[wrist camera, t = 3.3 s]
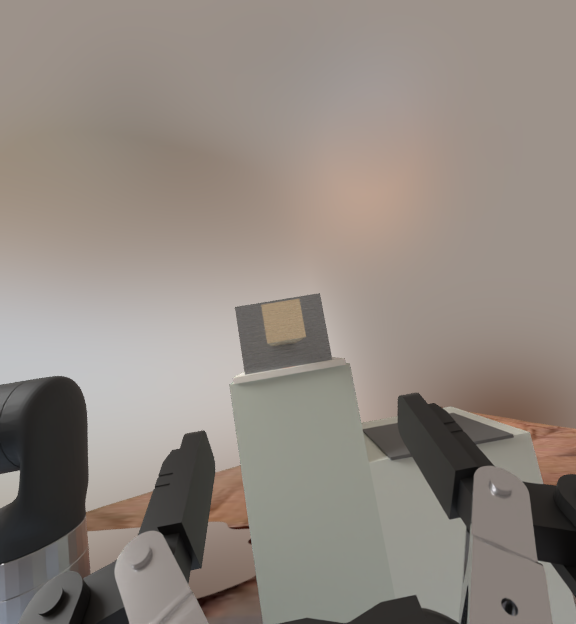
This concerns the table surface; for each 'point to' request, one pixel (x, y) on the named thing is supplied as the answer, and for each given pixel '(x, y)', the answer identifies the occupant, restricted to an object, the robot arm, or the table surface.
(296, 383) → the stepped stand
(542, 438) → the table surface
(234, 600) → the table surface
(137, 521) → the table surface
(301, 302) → the mallet
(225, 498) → the table surface
